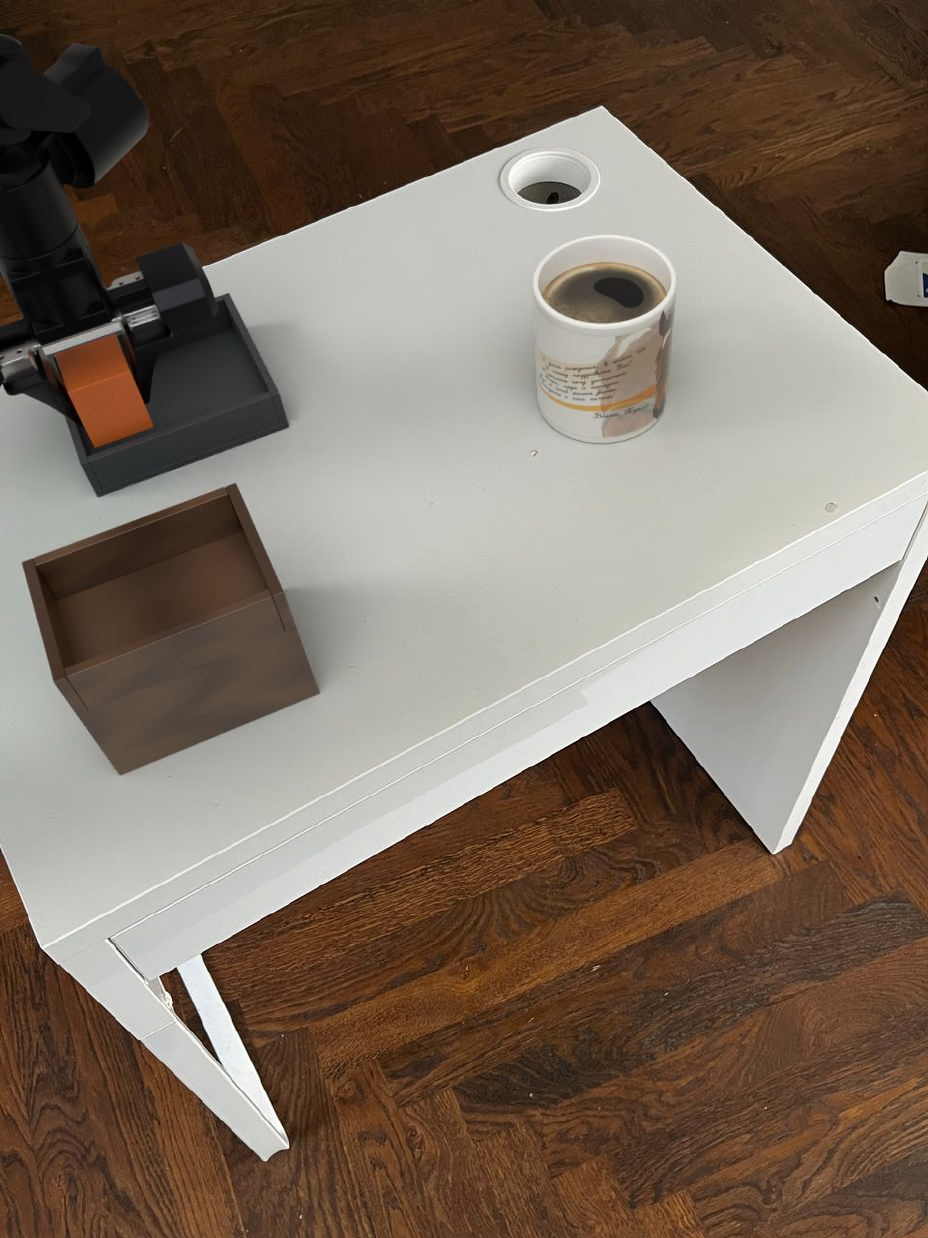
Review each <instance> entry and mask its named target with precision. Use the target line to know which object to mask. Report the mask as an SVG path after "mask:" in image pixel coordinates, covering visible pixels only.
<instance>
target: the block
mask: <svg viewBox="0 0 928 1238" xmlns="http://www.w3.org/2000/svg"><path fill="white" fill-rule="evenodd" d="M55 357H56V360H57V363H58V366H59V369H60V372H61V375H62V378H63V380H64V383H65V386H66V389H67V392H68V394H69V397H70V399H71V401H72V403H73V405H74V407H75V409H76V411H77V413H78V415H79V417H80V419H81V421H82V423H83V425H84V427H85V429H86V431H87V433H88V435H89V437H90V439H91V441H92V443H93V445H94V447H95V448H97V447H100V446H102V445H105V444H108V443H111V442H114V441H116V440H119V439H122V438H125V437H128V436H130V435H133V434H136V433H139V432H142V431H144V430H147V429H150V428H153V427H154V426H153V423H152V421H151V418H150V416H149V413H148V410H147V408H146V405H145V403H144V401H143V399H142V397H141V394H140V392H139V389H138V387H137V384H136V382H135V379H134V377H133V374H132V371H131V369H130V367H129V364H128V362H127V359H126V357H125V355H124V352H123V350H122V348H121V345H120V343H119V340H118V338H117V336H116V334H112V335H109V336H106V337H103V338H101V339H98V340H95V341H92V342H89V343H86V344H83V345H80V346H77V347H74V348H71V349H68V350H65V351H62V352H60V353H57V354H55Z"/></svg>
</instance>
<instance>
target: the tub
mask: <svg viewBox="0 0 928 1238" xmlns="http://www.w3.org/2000/svg"><path fill="white" fill-rule="evenodd" d="M214 297H215V300H216V303H217V306H218V309H219V311H218V312H217V314H216V315H215V316H214V318H212V319H209V320H206V321H203V322H200V323H197V324H194V325H191V326H188V327H185V328H182V329H180V330H176V329H173V328H171V327H170V329H171V331H172V334H173V338H172V340H171V341H170V342H168V343H166V344H163V345H162V346H161V348H160V351H159V354H158V357H157V360H156V363H155V367H154V370H153V377H152V386H151V394H150V402H149V403H148V404H145V405H146V408H147V410H148V413H149V416H150V418H151V421H152V423H153V426H154V427H153V428H150V429H147V430H144V431H142V432H139V433H136V434H133V435H130V436H128V437H125V438H122V439H119V440H116V441H114V442H111V443H108V444H105V445H102V446H100V447H97V448H95V447H94V445H93V443H92V441H91V439H90V437H89V435H88V433H87V431H86V429H85V427H84V426H83V427H80V426H79V425H77V424H76V423H74V422H73V421H71V420H70V419H68V418H67V417H66V416H64V418H65V422H66V425H67V428H68V430H69V434H70V437H71V440H72V444H73V446H74V449H75V453H76V455H77V457H78V461H79V464H80V466H81V468H82V470H83V472H84V474H85V476H86V478H87V480H88V482H89V483H90V485H91V487H92V490H93V491H94V493H95V495H96V497H97V498H100V497H102V496H105V495H107V494H110V493H113V492H116V491H119V490H122V489H124V488H126V487H129V486H133V485H134V484H137V483H140V482H143V481H145V480H148V479H152V478H153V477H157V476H159V475H162V474H164V473H167V472H170V471H173V470H175V469H178V468H181V467H184V466H187V465H189V464H192V463H195V462H197V461H200V460H203V459H205V458H208V457H211V456H215V455H216V454H219V453H222V452H225V451H228V450H230V449H233V448H236V447H238V446H241V445H244V444H246V443H247V444H248V443H250V442H252V441H255V440H257V439H261V438H263V437H266V436H269V435H271V434H274V433H276V432H279V431H282V430H285V429H287V428H289V427H290V426H289V425H290V424H289V422H288V418H287V414H286V410H285V407H284V405H283V404H284V403H283V401H282V397H281V394H280V391H279V390H278V387H277V385H276V383H275V381H274V380H273V377H272V375H271V373H270V371H269V370H268V367H267V366H266V364H265V361H264V359H263V357H262V356H261V354H260V352H259V350H258V347H257V345H256V344H255V342H254V340H253V337H252V335H251V333H250V332H249V329H248V328H247V326H246V323H245V322H244V320H243V317H242V316H241V313H240V312H239V310H238V307H237V306H236V304H235V302H234V300H233V298H232V296H231V294H230V292H227V293H223V294H222V295H218V296H214ZM112 334H116V336H117V338H118V340H119V343H120V345H121V348H122V350H123V352H124V355H125V357H126V359H127V362H128V364H129V367H130V369H131V365H130V361H129V357H128V353H127V349H126V345H125V341H124V337H123V333H122V330H121V329H119V330H116V331H113V332H110V333H107V334H104V335H102V336H99V337H96V338H93V339H90V340H87V341H84V342H81V343H78V344H75V345H72V346H70V347H67V348H64V349H60V350H57V351H55V352H52V353H49V354H46V356H47V358H48V359H49V361H50V362H51V364H52V365H53V367H54V368H55V370H56V371H57V373H58V374H59V376H60V377H61V379H62V380H63V378H62V375H61V372H60V369H59V366H58V363H57V360H56V357H55V354H57V353H60V352H62V351H65V350H68V349H71V348H74V347H77V346H80V345H83V344H86V343H89V342H92V341H95V340H98V339H101V338H103V337H106V336H109V335H112ZM131 371H132V369H131ZM132 374H133V373H132ZM63 382H64V380H63Z"/></svg>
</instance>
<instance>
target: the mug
mask: <svg viewBox="0 0 928 1238" xmlns="http://www.w3.org/2000/svg"><path fill="white" fill-rule="evenodd" d="M531 286H532V308H533V309H532V312H533V335H534V356H535V359H534V360H535V377H536V378H535V381H536V400H537V406H538V408H539V413H540V414H541V416H542V418H544V420H545V421H546V422H547V424H548V425H549V426H551V427H552V428H553V429H554V430H556V431H557V432H558V433H560V434H562V435H564V436H566V437H568V438H570V439H573V440H575V441H576V440H577V441H580V442H585V443H590V444H591V443H592V444H609V443H610V444H611V443H618V442H622V441H626V440H630V439H633V438H635V437H637V436H639V435H642V434H643V433H645V432H646V431H647V430H649V429H650V428H651V427H652V426H654V425H655V424H656V423H657V421H658V420H659V419H660V417H661V416H662V415H663V413H664V411H665V409H666V407H667V402H668V397H669V395H668V393H669V383H670V374H671V373H670V372H671V360H672V349H673V348H672V347H673V335H674V326H675V315H676V314H675V312H676V301H677V290H678V275H677V271H676V268H675V267H674V264H673V263H672V261H671V259H670V258H669V257H668V256H667V255H666V254H665V253H664V252H663V251H662V250H661V249H659V248H658V247H656V246H654V245H653V244H651V243H649V242H646V241H644V240H642V239H638V238H636V237H632V236H626V235H622V234H621V235H620V234H595V235H588V236H583V237H579V238H575V239H572V240H569V241H567V242H564V243H562V244H560V245H558V246H557V247H555V248H554V249H552V250H551V251H549V252H548V253H547V254H546V255H545V256H544V257H543V258H542V259H541V260H540V262H539V264H538V265H537V267H536V268H535V271H534V273H533V276H532V284H531Z"/></svg>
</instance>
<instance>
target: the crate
mask: <svg viewBox="0 0 928 1238" xmlns="http://www.w3.org/2000/svg"><path fill="white" fill-rule="evenodd" d="M21 565H22V570H23V572H24V576H25V577H24V578H25V579H26V584H27V588H28V592H29V595H30V599H31V602H32V606H33V610H34V615H35V618H36V620H37V621H36V622H37V625H38V629H39V633H40V636H41V640H42V643H43V648H44V651H45V655H46V658H47V662H48V666H49V670H50V674H51V677H52V681H53V684H54V685H55V686H56V688H57V689H58V691H59V692H60V694H61V695H62V697H63V698H64V700H65V701H66V702H67V704H68V705H69V706H70V708H71V710H72V711H73V713H74V714H75V715H76V716H77V718H78V719H79V720H80V722H81V723H82V725H83V726H84V727H85V729H86V730H87V732H88V733H89V735H90V736H91V737H92V739H93V740H94V742H95V743H96V744H97V746H98V748H99V749H100V750H101V751H102V753H103V754H104V756H105V757H106V758H107V760H108V762H109V763H110V764H111V765H112V767H113V769H114V770H115V771H116V773H117V774H118V776H122V775H124V774H127V773H129V772H132V771H134V770H136V769H139V768H141V767H144V766H146V765H148V764H151V763H154V762H156V761H159V760H160V759H163V758H165V757H168V756H170V755H174V754H175V753H178V752H181V751H183V750H186V749H188V748H190V747H193V746H195V745H198V744H199V743H202V742H205V741H207V740H209V739H212V738H214V737H216V736H219V735H222V734H224V733H227V732H229V731H232V730H234V729H237V728H239V727H241V726H244V725H246V724H249V723H251V722H254V721H255V720H258V719H260V718H263V717H266V716H268V715H271V714H273V713H275V712H278V711H281V710H282V709H285V708H288V707H290V706H293V705H295V704H298V703H299V702H302V701H305V700H307V699H309V698H312V697H314V696H317V695H319V694H320V690H319V686H318V683H317V681H316V679H315V678H316V677H315V675H314V673H313V669H312V667H311V664H310V660H309V659H308V656H307V652H306V650H305V647H304V644H303V641H302V639H301V636H300V633H299V630H298V627H297V625H296V622H295V619H294V616H293V613H292V610H291V608H290V604H289V602H288V599H287V596H286V593H285V591H284V588H283V586H282V584H281V582H280V580H279V577H278V574H277V573H276V570H275V568H274V566H273V563H272V561H271V558H270V556H269V555H268V553H267V549H266V547H265V545H264V543H263V541H262V539H261V536H260V534H259V531H258V529H257V527H256V525H255V523H254V520H253V518H252V515H251V513H250V511H249V509H248V506H247V503H246V502H245V499H244V497H243V495H242V492H241V491H240V488H239V486H238V483H237V482H234V483H230V484H229V485H226V486H223V487H220V488H217V489H215V490H212V491H209V492H207V493H204V494H201V495H198V496H196V497H193V498H190V499H188V500H185V501H181V502H180V503H177V504H174V505H172V506H169V507H166V508H163V509H160V510H158V511H156V512H153V513H150V514H147V515H144V516H142V517H139V518H136V519H134V520H132V521H129V522H125V523H123V524H121V525H117V526H116V527H112V528H109V529H107V530H105V531H102V532H99V533H96V534H93V535H91V536H88V537H86V538H83V539H80V540H77V541H75V542H72V543H69V544H67V545H64V546H61V547H59V548H56V549H54V550H51V551H48V552H45V553H42V554H40V555H37V556H35V557H32V558H30V559H27V560H24V561H21Z"/></svg>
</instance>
